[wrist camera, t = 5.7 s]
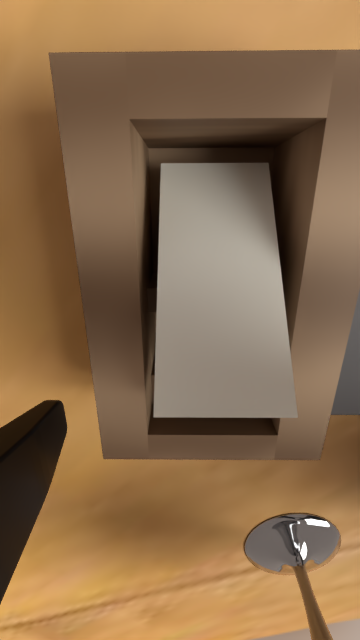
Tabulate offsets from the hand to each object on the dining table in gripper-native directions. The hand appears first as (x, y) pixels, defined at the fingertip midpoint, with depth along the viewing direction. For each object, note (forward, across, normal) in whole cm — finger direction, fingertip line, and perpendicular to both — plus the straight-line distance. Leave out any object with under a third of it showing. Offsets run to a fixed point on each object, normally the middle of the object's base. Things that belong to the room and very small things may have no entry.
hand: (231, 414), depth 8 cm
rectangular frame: (+8, 0, -2) cm, 8 cm away
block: (+5, 0, -2) cm, 5 cm away
